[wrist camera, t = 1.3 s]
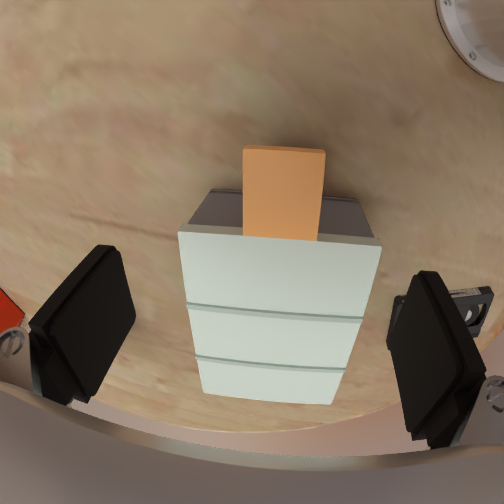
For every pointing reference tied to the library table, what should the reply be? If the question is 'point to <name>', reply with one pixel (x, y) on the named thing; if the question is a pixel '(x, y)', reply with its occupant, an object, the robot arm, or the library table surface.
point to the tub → (330, 222)
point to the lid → (276, 286)
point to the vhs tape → (465, 304)
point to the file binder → (9, 313)
